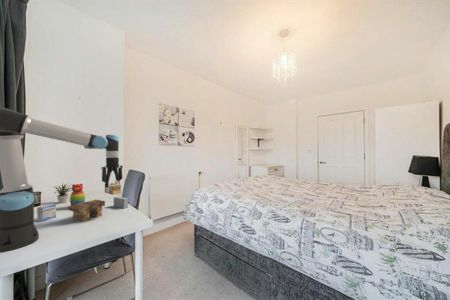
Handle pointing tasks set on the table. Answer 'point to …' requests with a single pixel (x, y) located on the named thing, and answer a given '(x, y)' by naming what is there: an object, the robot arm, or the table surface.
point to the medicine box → (46, 212)
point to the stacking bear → (77, 195)
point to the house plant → (62, 193)
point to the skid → (114, 189)
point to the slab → (86, 206)
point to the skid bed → (87, 214)
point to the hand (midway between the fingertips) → (112, 190)
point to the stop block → (120, 202)
